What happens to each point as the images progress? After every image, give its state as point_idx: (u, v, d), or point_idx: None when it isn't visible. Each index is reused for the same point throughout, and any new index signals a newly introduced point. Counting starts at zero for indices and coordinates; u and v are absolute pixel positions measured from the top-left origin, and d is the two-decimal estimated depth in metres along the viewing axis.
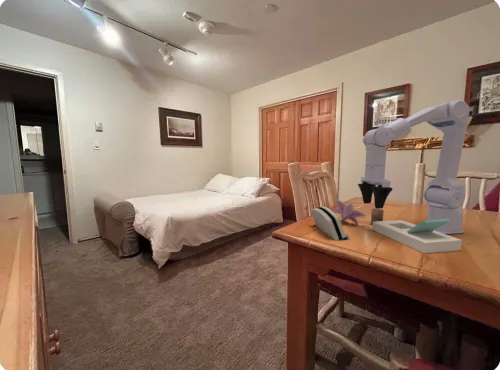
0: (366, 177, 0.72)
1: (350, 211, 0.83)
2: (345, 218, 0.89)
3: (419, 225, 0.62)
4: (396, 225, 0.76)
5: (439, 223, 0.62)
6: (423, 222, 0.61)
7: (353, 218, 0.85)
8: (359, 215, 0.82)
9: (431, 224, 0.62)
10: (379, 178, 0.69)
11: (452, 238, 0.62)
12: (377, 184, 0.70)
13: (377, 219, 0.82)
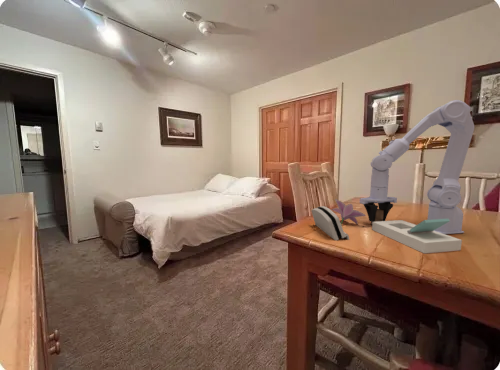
0: None
1: (350, 211, 0.83)
2: (345, 218, 0.89)
3: (419, 225, 0.62)
4: (396, 225, 0.76)
5: (439, 223, 0.62)
6: (423, 222, 0.61)
7: (353, 218, 0.85)
8: (359, 215, 0.82)
9: (431, 224, 0.62)
10: (372, 197, 0.82)
11: (452, 238, 0.62)
12: None
13: (377, 219, 0.82)
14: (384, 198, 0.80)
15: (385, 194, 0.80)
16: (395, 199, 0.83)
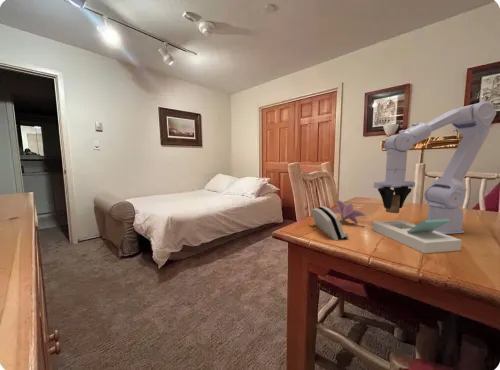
0: None
1: (350, 211, 0.83)
2: (345, 218, 0.89)
3: (419, 225, 0.62)
4: (396, 225, 0.76)
5: (439, 223, 0.62)
6: (423, 222, 0.61)
7: (353, 218, 0.85)
8: (359, 214, 0.83)
9: (431, 224, 0.62)
10: (387, 181, 0.75)
11: (452, 238, 0.62)
12: None
13: (393, 205, 0.75)
14: (402, 181, 0.72)
15: (403, 177, 0.72)
16: (413, 183, 0.75)
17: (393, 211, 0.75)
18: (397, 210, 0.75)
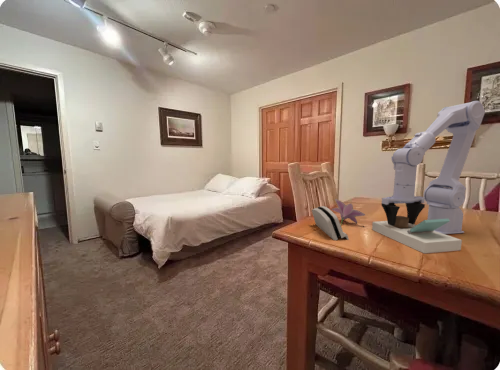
0: None
1: (350, 210, 0.83)
2: (345, 217, 0.90)
3: (419, 225, 0.62)
4: None
5: (439, 223, 0.62)
6: (423, 222, 0.61)
7: (353, 217, 0.85)
8: (359, 214, 0.83)
9: (431, 224, 0.62)
10: (396, 196, 0.71)
11: (452, 238, 0.62)
12: None
13: (401, 228, 0.71)
14: (411, 198, 0.69)
15: (412, 193, 0.69)
16: (422, 199, 0.72)
17: None
18: None
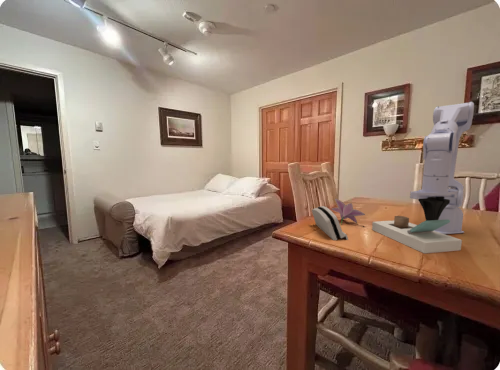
0: None
1: (350, 210, 0.84)
2: (344, 217, 0.90)
3: (419, 225, 0.62)
4: None
5: (439, 224, 0.62)
6: (423, 223, 0.61)
7: (352, 217, 0.86)
8: (358, 214, 0.84)
9: (431, 225, 0.62)
10: (426, 190, 0.61)
11: (452, 238, 0.62)
12: None
13: (401, 228, 0.71)
14: (445, 191, 0.59)
15: (447, 186, 0.59)
16: (456, 193, 0.62)
17: None
18: None
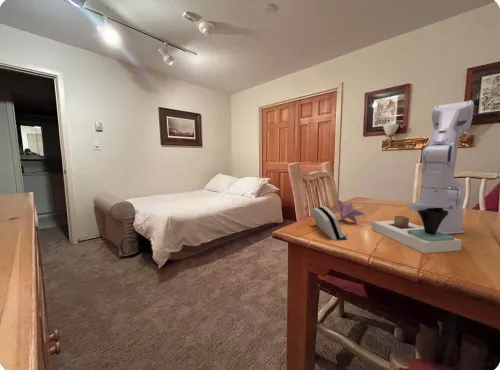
0: None
1: (350, 210, 0.84)
2: (344, 217, 0.90)
3: (422, 237, 0.61)
4: None
5: None
6: (427, 239, 0.60)
7: (352, 217, 0.86)
8: (358, 214, 0.84)
9: None
10: (425, 201, 0.61)
11: None
12: None
13: (401, 228, 0.71)
14: (444, 203, 0.59)
15: (445, 198, 0.59)
16: (454, 204, 0.62)
17: None
18: None
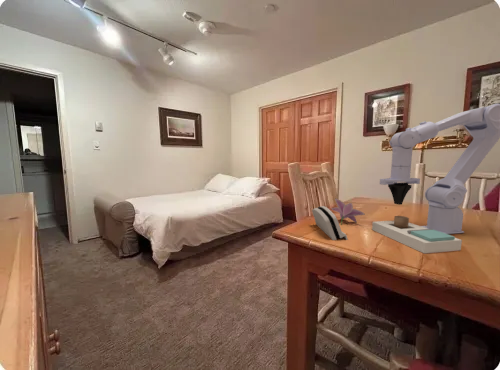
0: None
1: (350, 210, 0.84)
2: (344, 217, 0.91)
3: (422, 237, 0.61)
4: None
5: None
6: (427, 239, 0.60)
7: (352, 217, 0.86)
8: (358, 214, 0.84)
9: None
10: (393, 177, 0.76)
11: None
12: None
13: (401, 228, 0.71)
14: (407, 178, 0.74)
15: (408, 174, 0.74)
16: (418, 180, 0.77)
17: None
18: None
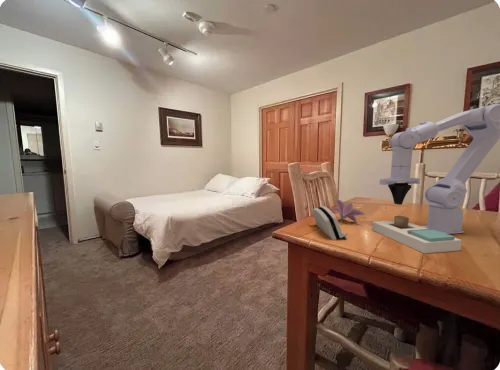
0: None
1: (350, 210, 0.85)
2: (344, 217, 0.91)
3: (422, 237, 0.61)
4: None
5: None
6: (427, 239, 0.60)
7: (352, 217, 0.87)
8: (358, 213, 0.84)
9: None
10: (393, 177, 0.76)
11: None
12: None
13: (401, 228, 0.71)
14: (407, 178, 0.74)
15: (408, 174, 0.74)
16: (418, 180, 0.77)
17: None
18: None
